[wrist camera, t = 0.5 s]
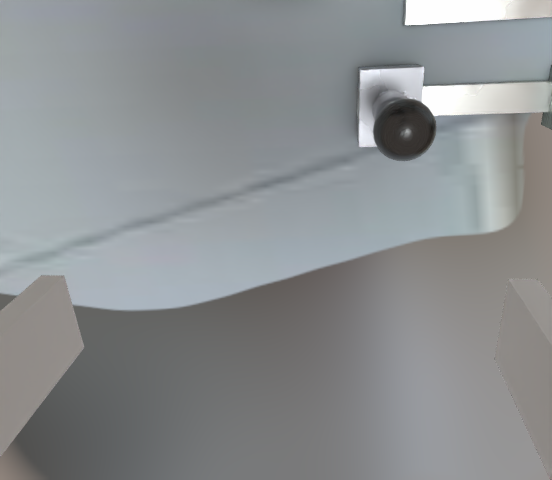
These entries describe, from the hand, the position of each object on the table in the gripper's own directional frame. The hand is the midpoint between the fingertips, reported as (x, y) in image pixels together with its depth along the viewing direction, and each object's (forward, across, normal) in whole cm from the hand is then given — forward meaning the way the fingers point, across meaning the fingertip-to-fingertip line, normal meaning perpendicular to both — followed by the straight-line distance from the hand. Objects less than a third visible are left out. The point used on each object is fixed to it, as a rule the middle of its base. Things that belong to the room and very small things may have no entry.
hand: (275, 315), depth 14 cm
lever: (+23, +5, +2) cm, 24 cm away
